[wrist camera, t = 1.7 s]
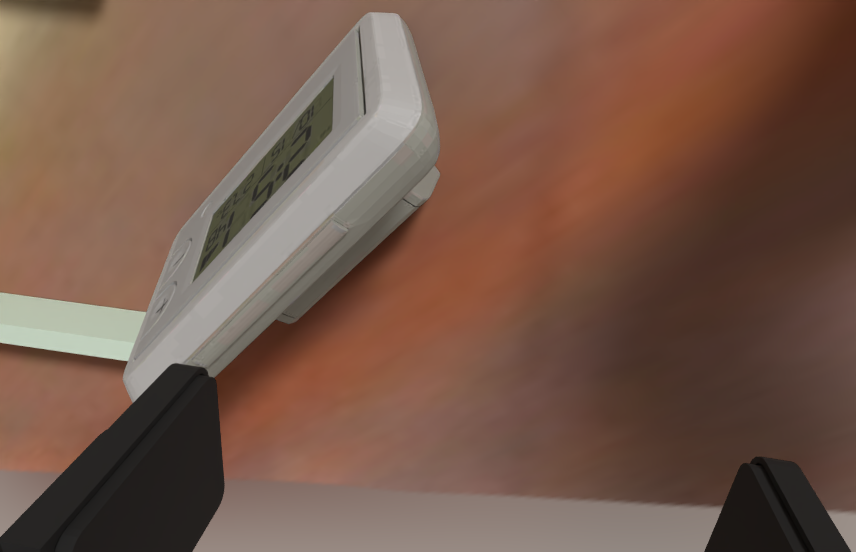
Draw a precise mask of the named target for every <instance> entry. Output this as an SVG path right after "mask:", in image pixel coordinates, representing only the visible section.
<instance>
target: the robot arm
mask: <svg viewBox="0 0 856 552" xmlns="http://www.w3.org/2000/svg"><path fill="white" fill-rule="evenodd" d="M223 494H224V473H223V460H222V447H221V434H220V421H219V409H218V396H217V384H216V380H215V378H213V377H209V375H208V371H207V370H206V369H205V368H203V367H197V366H191V365H185V364H179V363H174V364H171V365H170V366H169V367H167V368H166V370H165V371H164V372H163V373H162V374H161V375H160V376H159V377H158V378H157V379H156V380H155V381H154V382H153V383H152V384H151V385H150V386H149V387H148V388H147V389H146V390H145V391H144V392H143V393H142V394H141V395H140V396H139V397H138V399H137V400H136V401H135V402H134V403H133V404H132V405H131V406H130V407H129V408H128V409H127V410H126V411H125V412H124V413H123V414H122V415H121V416H120V417H119V418H118V419H117V420H116V421H115V422H114V423H113V424H112V425H111V426H110V428H109V429H107V430H105V431H104V432H103V433H102V434H100V435H99V436H98V437H97V438H96V439H95V440H94V441H93V442H92V443H91V444H90V445H89V446H88V447H87V448H86V449H85V450H84V451H83V453H82V454H81V455H80V456H79V457H78V458H77V459H76V460H75V461H74V462H73V463H72V464H71V465H70V466H69V467H68V468H67V469H66V470H65V471H64V472H63V473H62V474H61V475H60V476H59V477H58V478H57V479H56V480H55V482H53V483H52V484H51V486H49V488H48V489H47V490H46V491H45V492H44V493H43V494H42V495H41V496H40V497H39V498H38V499H37V500H36V501H35V502H34V503H33V504H32V505H31V506H30V507H29V508H28V509H27V510H26V511H25V512H24V513H23V514H22V515H21V516H20V517H19V518H18V519H17V520H16V521H15V523H14V524H13V525H12V526H11V527H10V528H9V529H8V530H7V531H6V532H5V533H4V534H3V535H2V536H1V537H0V552H192V551H193V549H194V548H195V546H196V544H197V543H198V541H199V539H200V538H201V536H202V534H203V532H204V531H205V529H206V527H207V526H208V524H209V522H210V520H211V519H212V517H213V515H214V514H215V512H216V511H217V509H218V507H219V505H220V503H221V501H222V497H223ZM705 552H851V551H850V549H849V547H848V546H847V544H846V543H845V541H844V539H843V538H842V536H841V534H840V533H839V531H838V529H837V528H836V526H835V524H834V523H833V521H832V520H831V518H830V516H829V515H828V513H827V511H826V510H825V508H824V506H823V505H822V503H821V502H820V500H819V498H818V497H817V495H816V493H815V492H814V490H813V488H812V487H811V485H810V484H809V482H808V480H807V479H806V477H805V475H804V474H803V472H802V470H801V469H800V468H799V466H798V465H797V464H796V463H794V462H791V461H784V460H778V459H772V458H766V457H755V458H754V459H753V460H752V461H751V463H750V464H748V463H743V464H742V465H741V466H740V468H739V470H738V472H737V475H736V477H735V480H734V482H733V484H732V487H731V489H730V492H729V494H728V496H727V499H726V501H725V504H724V506H723V508H722V511H721V513H720V516H719V518H718V521H717V523H716V525H715V528H714V530H713V532H712V535H711V537H710V540H709V542H708V544H707V547H706V549H705Z"/></svg>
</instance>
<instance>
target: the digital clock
mask: <svg viewBox="0 0 856 552" xmlns="http://www.w3.org/2000/svg"><path fill="white" fill-rule="evenodd" d="M439 153H440V137H439V130H438V125H437V121H436V116H435V112H434V108H433V105H432V101H431V98H430V94H429V91H428V88H427V84H426V81H425V78H424V74H423V71H422V68H421V64H420V61H419V58H418V54H417V51H416V47H415V44H414V41H413V37H412V35H411V32H410V30H409V29H408V27H407V25H406V23H405V22H404V21H403V19H402V18H401V17H399V15H398V14H394V13H379V12H369V13H367V14H366V15H364V16H363V17H362V18H361V19H360V20H359V21H358V23H357V24H356V25H355V26H354V27H353V28H352V29H351V31H350V32H349V33H348V34H347V35H346V36H345V37H344V39H343V40H342V41H341V42H340V43H339V44H338V45H337V47H336V48H335V49H334V50H333V51H332V52H331V54H330V55H329V56H328V57H327V58H326V59H325V61H324V62H323V63H322V64H321V65H320V66H319V68H318V69H317V70H316V71H315V72H314V73H313V75H312V76H311V77H310V78H309V79H308V80H307V82H306V83H305V84H304V85H303V86H302V87H301V89H300V90H299V91H298V92H297V93H296V95H295V96H294V97H293V98H292V99H291V100H290V102H289V103H288V104H287V105H286V106H285V107H284V109H283V110H282V111H281V112H280V113H279V114H278V116H277V117H276V118H275V119H274V120H273V121H272V123H271V124H270V125H269V126H268V127H267V128H266V130H265V131H264V132H263V133H262V134H261V135H260V137H259V138H258V139H257V140H256V141H255V142H254V144H253V145H252V146H251V147H250V148H249V149H248V151H247V152H246V153H245V154H244V155H243V156H242V158H241V159H240V160H239V161H238V162H237V164H236V165H235V166H234V167H233V168H232V169H231V171H230V172H229V173H228V174H227V175H226V176H225V178H224V179H223V180H222V181H221V182H220V183H219V185H218V186H217V187H216V188H215V189H214V190H213V192H212V193H211V194H210V195H209V196H208V197H207V199H206V200H205V201H204V202H203V203H202V204H201V206H200V207H199V208H198V209H197V210H196V212H195V213H194V214H193V215H192V216H191V218H190V219H189V220H188V221H187V222H186V224H185V225H184V226H183V227H182V229H181V230H180V231H179V233H178V234H177V236H176V238H175V240H174V242H173V244H172V247H171V249H170V252H169V255H168V257H167V260H166V262H165V265H164V268H163V270H162V273H161V276H160V278H159V281H158V283H157V286H156V289H155V291H154V294H153V296H152V299H151V302H150V304H149V307H148V310H147V312H146V315H145V317H144V320H143V323H142V325H141V328H140V331H139V333H138V336H137V338H136V341H135V344H134V346H133V349H132V352H131V354H130V357H129V360H128V363H127V365H126V368H125V371H124V375H123V382H124V384H125V387H126V389H127V391H128V394H129V396H130V398H131V400H132V402H133V403H134V402H135V401H136V400H137V399H138V397H139V396H140V395H141V394H142V393H143V392H144V391H145V390H146V389H147V388H148V387H149V386H150V385H151V384H152V383H153V382H154V381H155V380H156V379H157V378H158V377H159V376H160V375H161V374H162V373H163V372H164V371H165V370H166V368H167V367H169V366H170V365H171V364H174V363H179V364H185V365H191V366H197V367H203V368H205V369H206V370H207V371H208V375H209V377H213V378H215V377H216V376H217V375H218V374H219V373H220V372H221V371H222V370H223V369H224V368H225V367H226V366H227V365H228V364H229V363H231V362H232V361H233V360H234V359H235V358H236V357H237V356H238V355H239V354H240V353H241V352H242V351H243V350H244V349H245V348H246V347H247V346H248V345H249V344H251V343H252V342H253V341H254V340H255V339H256V338H257V337H258V336H259V335H260V334H261V333H262V332H263V331H264V330H265V329H266V328H267V327H268V326H269V325H271V324H272V323H273V322H274V321H275V320H279V321H281V322H284V323H287V324H290V323H294V322H296V321H297V320H298V319H299V318H301V317H302V316H303V315H304V314H305V313H306V312H307V311H308V310H309V309H310V308H311V307H312V306H313V305H314V304H315V303H316V302H317V301H319V300H320V299H321V298H322V297H323V296H324V295H325V294H326V293H327V292H328V291H329V290H330V289H331V288H333V287H334V286H335V285H336V284H337V283H338V282H339V281H340V280H341V279H342V278H343V277H344V276H345V275H347V274H348V273H349V272H350V271H351V270H352V269H353V268H354V267H355V266H356V265H357V264H358V263H360V262H361V261H362V260H363V259H364V258H365V257H366V256H367V255H368V254H369V253H370V252H371V251H372V250H374V249H375V248H376V247H377V246H378V245H379V244H380V243H381V242H382V241H383V240H384V239H385V238H386V237H388V236H389V235H390V234H391V233H392V232H393V231H394V230H395V229H396V228H397V227H398V226H399V225H400V224H402V223H403V222H404V221H405V220H406V219H407V218H408V217H409V216H410V215H411V214H412V213H413V212H414V211H416V210H417V209H418V208H419V207H420V206H421V205H422V204H423V203H424V202H426V201H427V200H428V199H429V198H430V196H431V194H432V192H433V190H434V188H435V185H436V183H437V181H438V179H439V177H440V172H439V171H438V169H437V168H436V167H435V166H434V165H435V163H436V161H437V159H438V156H439Z"/></svg>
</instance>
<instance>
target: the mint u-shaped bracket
mask: <svg viewBox="0 0 856 552" xmlns="http://www.w3.org/2000/svg"><path fill="white" fill-rule="evenodd" d="M145 315H146V312H140V311H133V310H125V309H118V308H111V307H103V306H96V305H88V304H81V303H74V302H66V301H59V300H52V299H44V298H37V297H30V296H22V295H15V294H7V293H0V343H6V344H13V345H20V346H26V347H33V348H40V349H47V350H54V351H61V352H68V353H75V354H82V355H89V356H96V357H103V358H109V359H116V360H123V361H128V360H129V357H130V354H131V352H132V349H133V346H134V344H135V341H136V338H137V336H138V333H139V331H140V328H141V325H142V323H143V320H144V317H145Z"/></svg>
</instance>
